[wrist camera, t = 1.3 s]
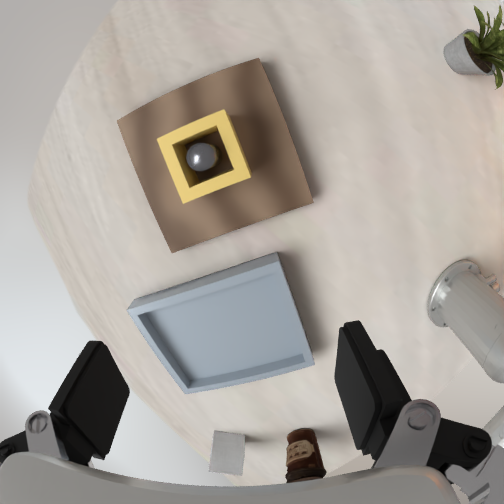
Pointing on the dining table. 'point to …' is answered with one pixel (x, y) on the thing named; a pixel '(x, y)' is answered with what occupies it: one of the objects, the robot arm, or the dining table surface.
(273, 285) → the tray
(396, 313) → the dining table surface
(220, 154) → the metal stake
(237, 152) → the collar
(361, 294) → the dining table surface
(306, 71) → the dining table surface
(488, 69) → the house plant
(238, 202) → the board
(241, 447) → the grey house shaped block
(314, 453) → the coffee cup
